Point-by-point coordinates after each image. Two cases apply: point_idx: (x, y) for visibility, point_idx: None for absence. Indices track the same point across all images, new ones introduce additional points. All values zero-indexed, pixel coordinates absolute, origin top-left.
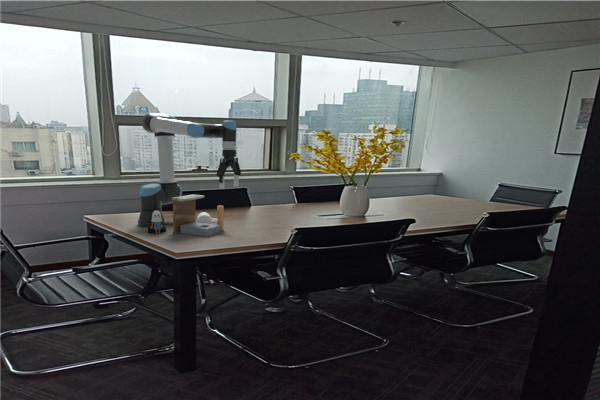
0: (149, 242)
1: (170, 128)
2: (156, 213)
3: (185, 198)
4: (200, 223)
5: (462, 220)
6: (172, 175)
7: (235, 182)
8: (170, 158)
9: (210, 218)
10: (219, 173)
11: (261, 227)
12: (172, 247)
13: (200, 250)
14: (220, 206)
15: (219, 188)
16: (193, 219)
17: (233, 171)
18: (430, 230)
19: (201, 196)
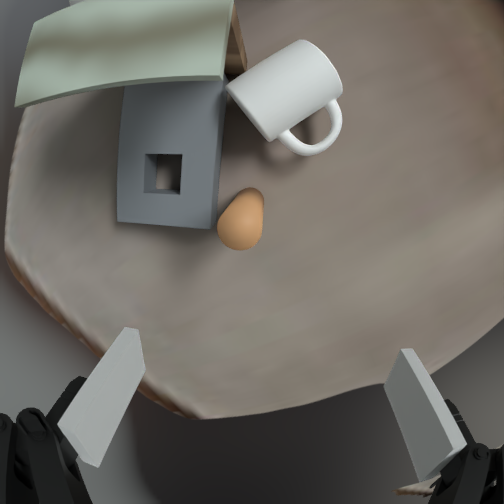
0: (21, 120)
1: None
2: (70, 5)
3: (32, 90)
4: (200, 120)
5: None
6: None
7: (407, 396)
8: None
9: (264, 135)
10: (30, 460)
11: (373, 316)
12: (16, 209)
13: (36, 285)
14: (224, 238)
15: (124, 328)
16: (225, 61)
17: (453, 498)
18: (399, 494)
19: (176, 77)
